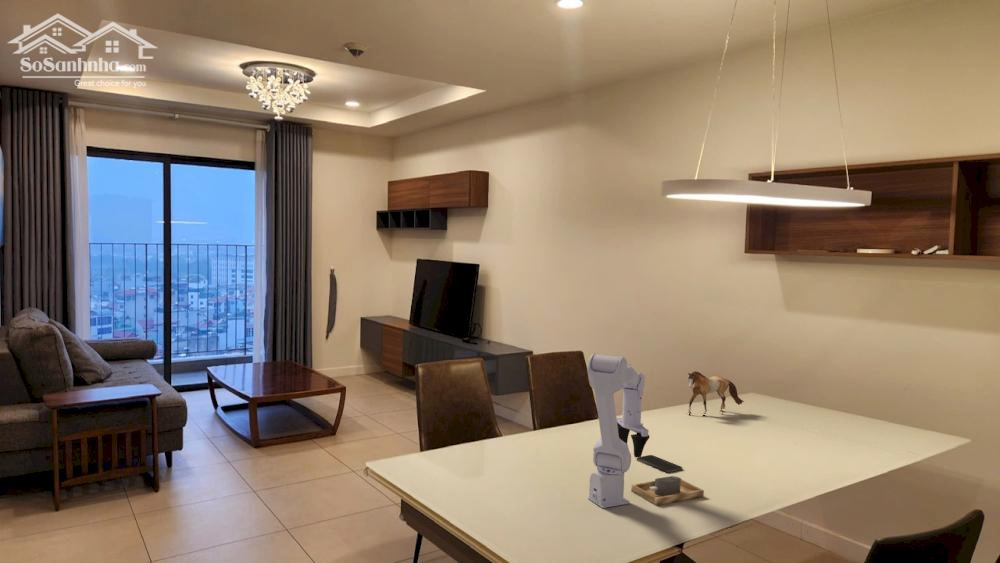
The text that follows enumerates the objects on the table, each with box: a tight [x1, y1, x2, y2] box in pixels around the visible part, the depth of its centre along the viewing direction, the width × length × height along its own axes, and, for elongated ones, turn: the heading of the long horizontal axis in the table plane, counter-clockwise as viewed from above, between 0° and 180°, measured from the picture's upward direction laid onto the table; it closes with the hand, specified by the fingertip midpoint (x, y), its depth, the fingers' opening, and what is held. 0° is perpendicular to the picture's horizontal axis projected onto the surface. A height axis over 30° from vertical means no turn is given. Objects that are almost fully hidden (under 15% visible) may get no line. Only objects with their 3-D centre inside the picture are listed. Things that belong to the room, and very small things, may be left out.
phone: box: [636, 454, 683, 474], centre depth 213 cm, size 8×1×15 cm
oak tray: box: [631, 479, 705, 506], centre depth 187 cm, size 18×12×2 cm, turn 115°
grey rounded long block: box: [649, 475, 681, 496], centre depth 186 cm, size 11×4×4 cm, turn 115°
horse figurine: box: [687, 370, 745, 415], centre depth 284 cm, size 31×8×21 cm, turn 112°
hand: (630, 453), depth 195 cm, fingers open, 7 cm apart
